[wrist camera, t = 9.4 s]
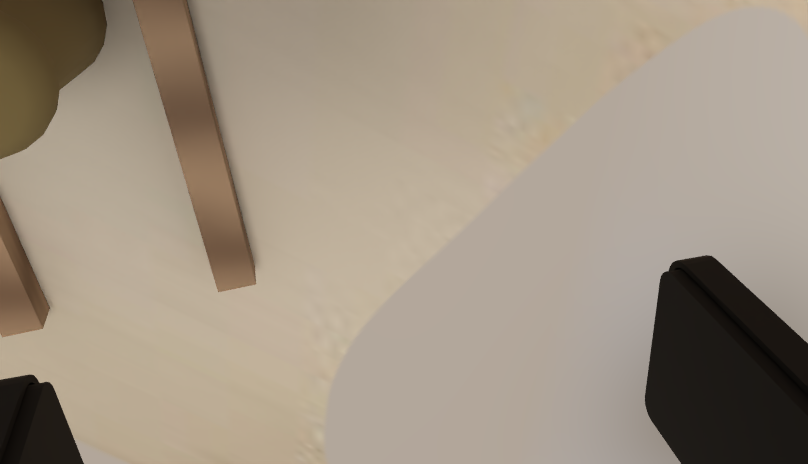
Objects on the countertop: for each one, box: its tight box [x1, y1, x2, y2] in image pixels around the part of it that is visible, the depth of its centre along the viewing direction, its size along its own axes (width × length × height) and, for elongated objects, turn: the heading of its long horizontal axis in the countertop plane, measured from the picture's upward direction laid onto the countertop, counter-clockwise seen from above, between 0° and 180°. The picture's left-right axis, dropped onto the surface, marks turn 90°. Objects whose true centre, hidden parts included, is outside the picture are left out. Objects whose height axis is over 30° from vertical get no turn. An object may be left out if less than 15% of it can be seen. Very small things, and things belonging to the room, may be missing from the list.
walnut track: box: [0, 0, 256, 337], centre depth 33 cm, size 21×13×4 cm, turn 7°
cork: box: [0, 0, 107, 159], centre depth 28 cm, size 6×6×11 cm
